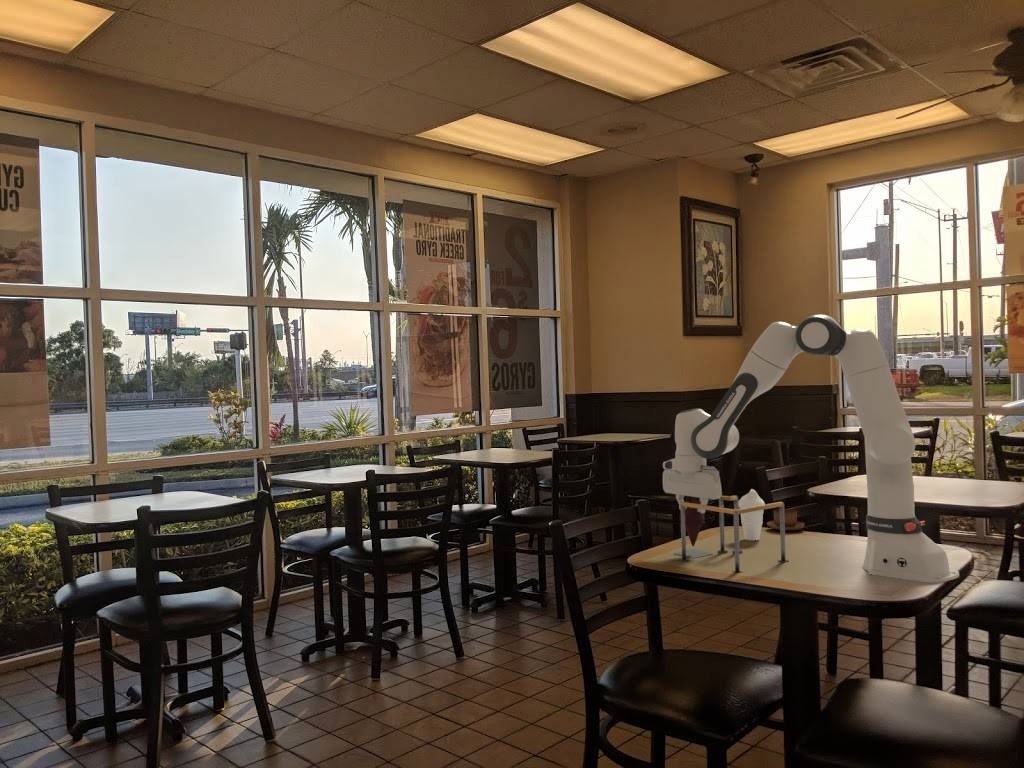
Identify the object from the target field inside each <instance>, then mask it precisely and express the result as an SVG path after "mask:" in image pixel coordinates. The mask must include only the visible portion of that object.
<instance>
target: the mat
mask: <svg viewBox="0 0 1024 768" xmlns="http://www.w3.org/2000/svg"><path fill="white" fill-rule="evenodd" d="M675 554H677V555H676V556H680V555H681V556H680V557H682V551H678V552H674V553H673V555H675ZM713 555H714V553H713V552H706V551H701V550H697V549H686V558H688V559H690V558H691V559H700V558H703V557H710V556H713Z"/></svg>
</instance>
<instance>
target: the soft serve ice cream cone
mask: <svg viewBox="0 0 1024 768" xmlns="http://www.w3.org/2000/svg"><path fill="white" fill-rule="evenodd" d="M760 505H766V503H765V501H764V500H763V499H762V498H761V497H760V496H759V494H758V492H757V491H756V490H755V489H753V488H751V489H750V490H749V492H748V493H746V494H745V495H743V496H741V498H740V499H738V508H739V509H743V508H749V507H754V506H760ZM763 515H764V510H758V511H753V512H747V513H742V514H740V520H741V521H740V522H741V525H742V531H743V534H744V538H745V540H746V541H753V542H754V541H755V540H756V541H759V540H760V537H761V533H762V527H763V523H764V522H763V520H764V518H763V517H764V516H763Z"/></svg>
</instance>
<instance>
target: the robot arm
mask: <svg viewBox="0 0 1024 768" xmlns="http://www.w3.org/2000/svg"><path fill="white" fill-rule="evenodd" d="M801 353H806V354H808V355H811V356H815V357H824V356H827V357H828V356H829V357H830V356H833V357H835V358H836V359H837V361H839V364H840V366H841V370H842V373H843V376H844V379H845V382H846V384H847V385H846V386H847V389H848V391H849V395H850V397H851V401H852V405H853V407H854V409H855V412H856V415H857V419H858V421H859V425H860V427H861V431H862V433H863V436H864V437H863V438H864V449H865V450H864V453H865V455H864V456H865V469H866V487H867V488H866V489H867V491H866V493H867V514H866V515H865V517H866V518H865V528H866V532H867V539H866V541H867V543H866V548H865V550H866V551H865V554H864V555H865V556H864V560H863V563H862V568H863V569H864V570H865V571H867V573H868V575H870V574H872V575H871V576H877V575H879V576H878V577H884V576H886V578H891V577H894V578H893V579H899V578H901V579H900V580H906V581H907V580H908V581H913V582H914V581H915V582H922V583H927V584H928V583H930V584H931V583H932V584H933V583H936V584H937V583H942V582H944V583H945V582H949V581H953V580H955V579H958V578H960V571H958V570H954V569H950V563H949V558H948V555H947V553H946V551H945V550H944V548H942V547H941V546H939V545H938V544H937V543H935V542H934V540H932V539H931V538H930V537H929V536H927V535H926V534H925V533H924V532H923V529H922V526H925V525H926V523H925V522H926V520H921V521H920V520H919V519H918V518H917V517H916V515H915V484H914V475H913V466H912V456H913V454H914V452H915V449H916V439H915V436H914V432H913V430H912V428H911V424H910V422H909V419H908V417H907V414H906V411H905V407H904V405H903V403H902V400H901V398H900V395H899V391H898V389H897V386H896V383H895V380H894V377H893V374H892V371H891V368H890V364H889V361H888V358H887V356H886V354H885V351H884V349H883V347H882V345H881V343H880V342H879V340H878V338H877V336H876V335H875V333H874V332H873V331H871V330H869V329H866V328H863V329H862V328H861V329H860V328H857V329H853V330H852V329H851V330H846V329H844V327H843V326H842V324H841V323H840V322H839V321H838V320H837V319H835V318H833V317H832V316H829V315H826V314H812V315H810V316H807V317H805V318H804V319H802V320H801V321H800V322H799V324H798V325H796V326H795V325H792V324H790V323H788V322H784V321H774V322H772V323H771V324H769V325H768V326H767V328H765V330H764V331H763V332H762V333H761V334H760V336H759V337H758V338H757V340H756V341H755V343H754V344H753V345H752V347H751V349H750V350H749V352H748V353H747V355H746V356H745V358H744V361H743V362H742V363H741V366H740V368H739V370H738V372H737V374H736V375H735V378H734V380H733V382H732V384H731V386H730V387H729V388H728V390H727V391H726V392H725V394H724V396H723V397H722V399H721V400H720V402H719V403H718V404H717V405H716V407H715V409H714V410H713V412H712V413H711V414H709V413H707V412H705V410H703V409H702V408H692V409H687V410H683V411H679V412H678V414H676V417H675V422H674V423H675V424H674V442H675V445H676V449H675V454H674V455H675V457H674V458H671V459H668V460H666V461H663V463H662V468H663V469H664V470H663V472H662V489H663V492H664V493H665V494H671V495H672V494H673V495H675V499H676V502H677V503H678V508H679V510H680V511H681V505H680V504H681V502H685V500H684V498H685V496H691V497H692V498H694V497H698V498H699V502H700V504H701V505H707V506H708V502H709V500H719V498H720V497H721V496H723V491H722V482H721V477H720V471H719V470H718V469H717V468H716V467H715V466H713V465H711V466H710V465H707V460H714V459H717V458H719V457H720V456H721V455H722V456H723V455H724V454H726V453H729V452H732V451H733V450H734V449H735V448H736V447H738V445H739V442H740V432H739V429H738V427H737V426H736V425H735V423H736V422H737V420H738V419H739V417H741V416H740V415H741V413H743V411H744V410H745V409H746V407H747V405H748V404H750V403H751V401H753V400H754V399H756V398H757V397H760V395H762V394H764V393H766V392H768V391H769V390H771V389H773V387H774V386H775V385H776V384H777V383H778V382H779V381H780V380H781V379H782V377H783V376H784V374H785V372H786V371H787V370H788V368H789V366H790V365H791V363H792V361H793V360H794V359H795V358H796V357H797V356H798V355H800V354H801ZM686 508H688V507H686V506H685V509H686ZM697 509H698V508H697ZM697 512H698V513H703V514H705V513H706V510H704V509H698V511H697Z"/></svg>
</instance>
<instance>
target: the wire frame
mask: <svg viewBox="0 0 1024 768" xmlns="http://www.w3.org/2000/svg"><path fill="white" fill-rule="evenodd" d="M724 501H727V502H728V501H733V508H726V507H724ZM738 503H739V496H738V495H731V496H730V495H729V496H728V495H722V496H721V497H720V498H719V499H718V506H713V505H708V504H707V505H701V503H700V504H694V503H688V502H686V501H684V502H681V504H680V505H681V510H680V532H681V535H680V537H681V538H680V539H681V552H682V556H681V558H679V559H678V560H681V561H680V562H684V561H685V562H689V561H690V558H688V557H686V551H687V538H686V537H687V536H686V534H687V533H686V532H687V530H686V527H685V506H686V507H687V508H688V507H692V508H698V509H704V510H705V511H711V512H712V511H713V512H717V513H719V541H720V543H719V546H720V547H719V548H720V549H718V550H717V553H718V554H723V555H724V554H728V552H729V551H728V550H725V547H726V546H725V514H730V515H733V539H734V540H733V545H734V547H733V549H734V550H732V554H734V570H732V571H731V573H735V574H742V573H743V571H742V570H740V569H741V568H740V561H741V560H740V555H741V554H742V553H744V552H743V550H740V522H739V521H740V517H739V515H741V514H742V513H747V512H753V511H758V510H763V511H764V510H768V509H774V508H779V509H780V530H779V531H780V533H779V535H780V538H779V539H780V559H778V560H777V562H779V563H783V564H785V563H788V562H789V560H788V559H786V532H785V531H786V530H785V519H784V509H785V503H784V502H783V501H778V502H772V503H767V504H766V503H765V505H760V506H754V507H749V508H743V509H740V508H739V506H738Z"/></svg>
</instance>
